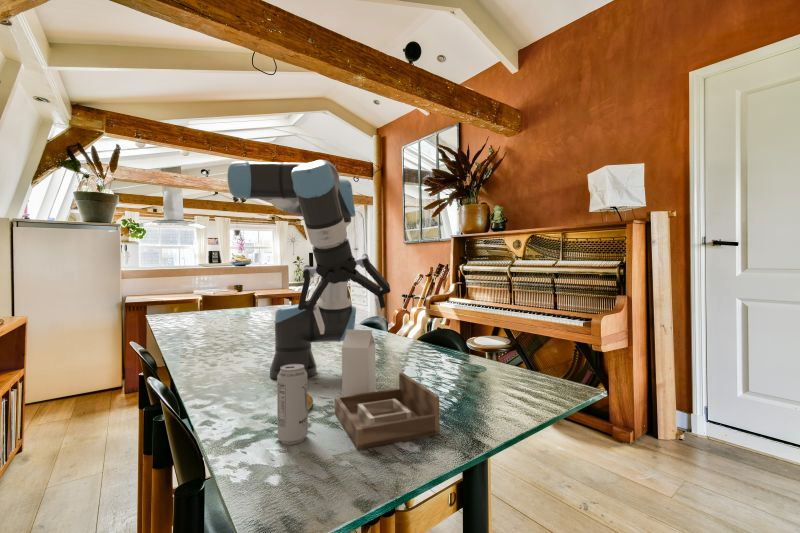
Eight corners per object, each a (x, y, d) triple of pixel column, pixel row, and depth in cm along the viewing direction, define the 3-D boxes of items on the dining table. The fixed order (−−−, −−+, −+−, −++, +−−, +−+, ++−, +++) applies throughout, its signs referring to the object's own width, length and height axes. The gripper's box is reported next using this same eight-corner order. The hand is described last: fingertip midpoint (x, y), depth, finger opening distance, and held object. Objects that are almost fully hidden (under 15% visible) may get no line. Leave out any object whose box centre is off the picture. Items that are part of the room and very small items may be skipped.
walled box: (334, 413, 91) (334, 380, 91) (402, 403, 98) (402, 372, 98) (357, 450, 73) (357, 409, 73) (439, 434, 80) (439, 396, 80)
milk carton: (368, 407, 96) (368, 332, 96) (342, 405, 97) (341, 331, 97) (375, 397, 103) (375, 328, 103) (351, 396, 104) (350, 327, 104)
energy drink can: (307, 444, 76) (307, 369, 76) (276, 447, 74) (275, 371, 74) (307, 431, 82) (307, 362, 82) (278, 434, 80) (278, 364, 80)
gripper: (264, 261, 72) (296, 346, 82) (392, 237, 73) (407, 323, 83) (271, 245, 79) (300, 325, 89) (388, 223, 80) (403, 305, 90)
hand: (352, 324), depth 86 cm, fingers open, 13 cm apart
